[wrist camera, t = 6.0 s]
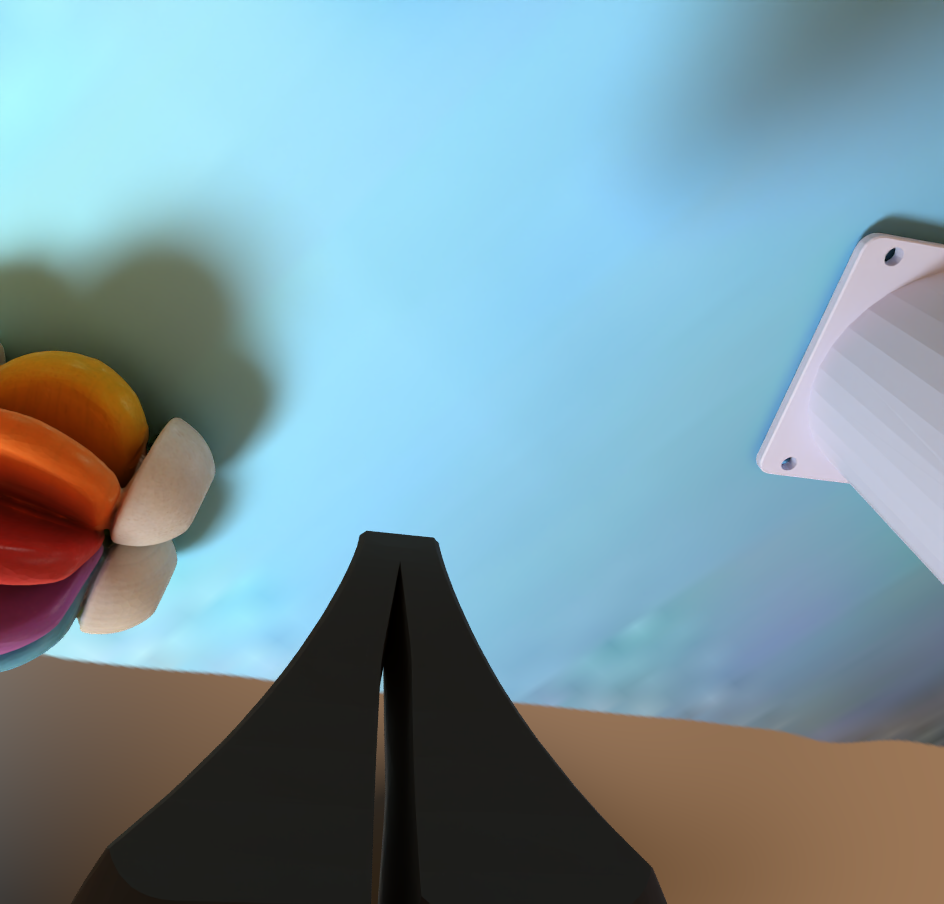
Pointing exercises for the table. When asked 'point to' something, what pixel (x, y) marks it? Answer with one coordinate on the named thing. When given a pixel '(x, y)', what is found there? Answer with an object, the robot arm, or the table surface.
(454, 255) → the table surface
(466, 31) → the table surface
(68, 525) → the colorful rounded pieces cluster
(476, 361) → the table surface
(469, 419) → the table surface
